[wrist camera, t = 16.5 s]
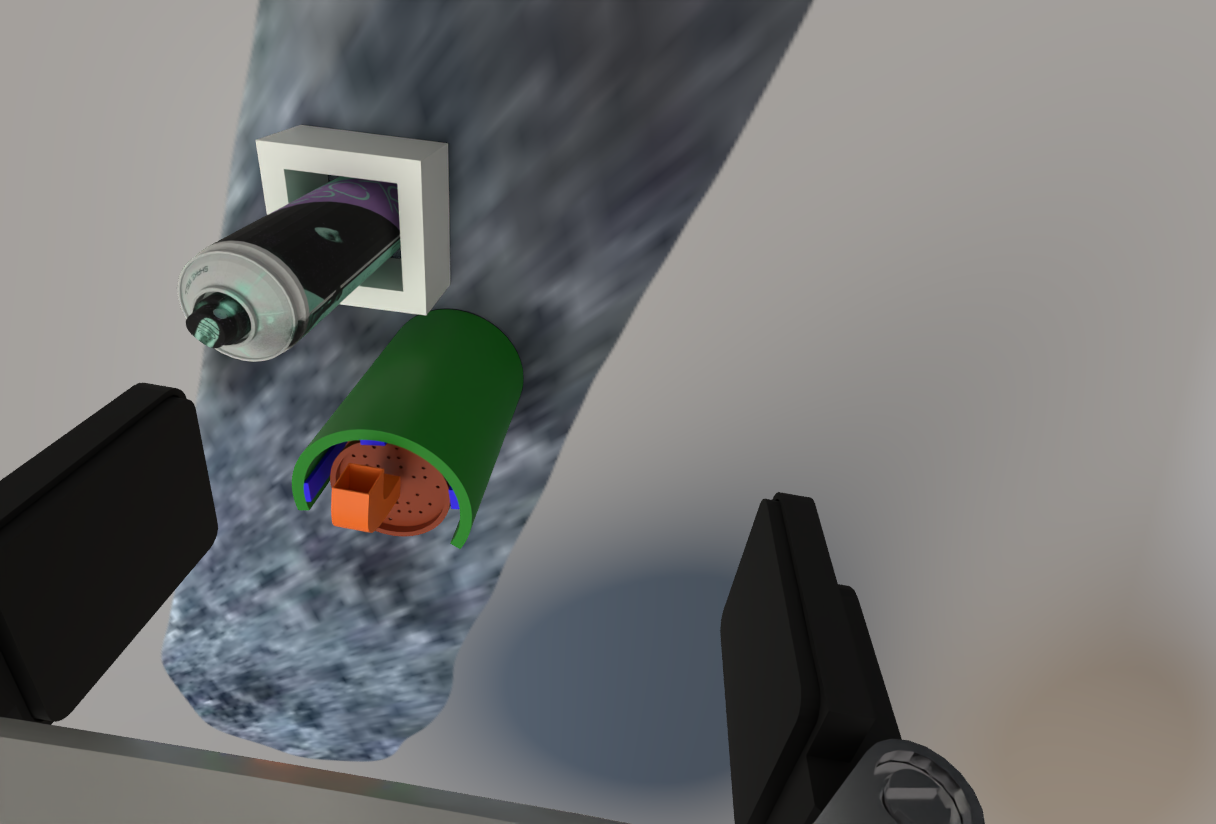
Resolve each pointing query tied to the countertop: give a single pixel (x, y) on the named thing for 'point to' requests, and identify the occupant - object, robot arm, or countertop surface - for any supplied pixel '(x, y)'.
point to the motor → (417, 429)
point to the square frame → (413, 164)
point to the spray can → (289, 268)
